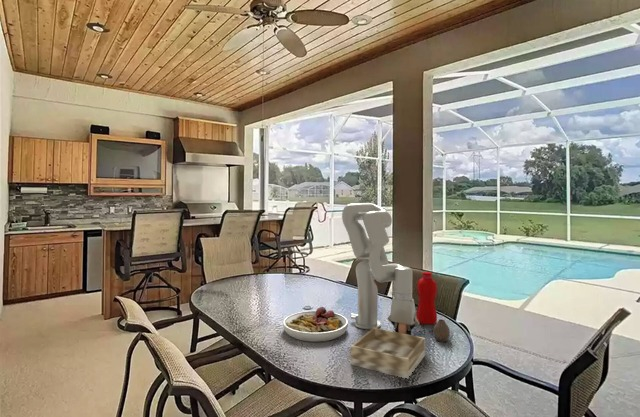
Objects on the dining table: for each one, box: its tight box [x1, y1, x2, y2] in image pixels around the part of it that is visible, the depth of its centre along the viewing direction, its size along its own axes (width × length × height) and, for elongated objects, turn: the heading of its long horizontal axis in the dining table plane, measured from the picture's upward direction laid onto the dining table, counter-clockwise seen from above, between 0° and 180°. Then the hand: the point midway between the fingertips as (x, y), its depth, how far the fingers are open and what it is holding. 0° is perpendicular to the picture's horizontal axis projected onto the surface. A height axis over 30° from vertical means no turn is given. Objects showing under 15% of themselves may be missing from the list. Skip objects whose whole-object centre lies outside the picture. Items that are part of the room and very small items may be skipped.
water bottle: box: [416, 271, 438, 325], centre depth 187 cm, size 9×11×25 cm
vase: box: [432, 318, 451, 343], centre depth 164 cm, size 7×7×9 cm
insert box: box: [350, 328, 426, 380], centre depth 145 cm, size 22×22×7 cm
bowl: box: [282, 306, 349, 343], centre depth 175 cm, size 30×30×8 cm
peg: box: [398, 323, 407, 334], centre depth 163 cm, size 4×4×10 cm
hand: (402, 337), depth 163 cm, fingers closed on peg, 4 cm apart
